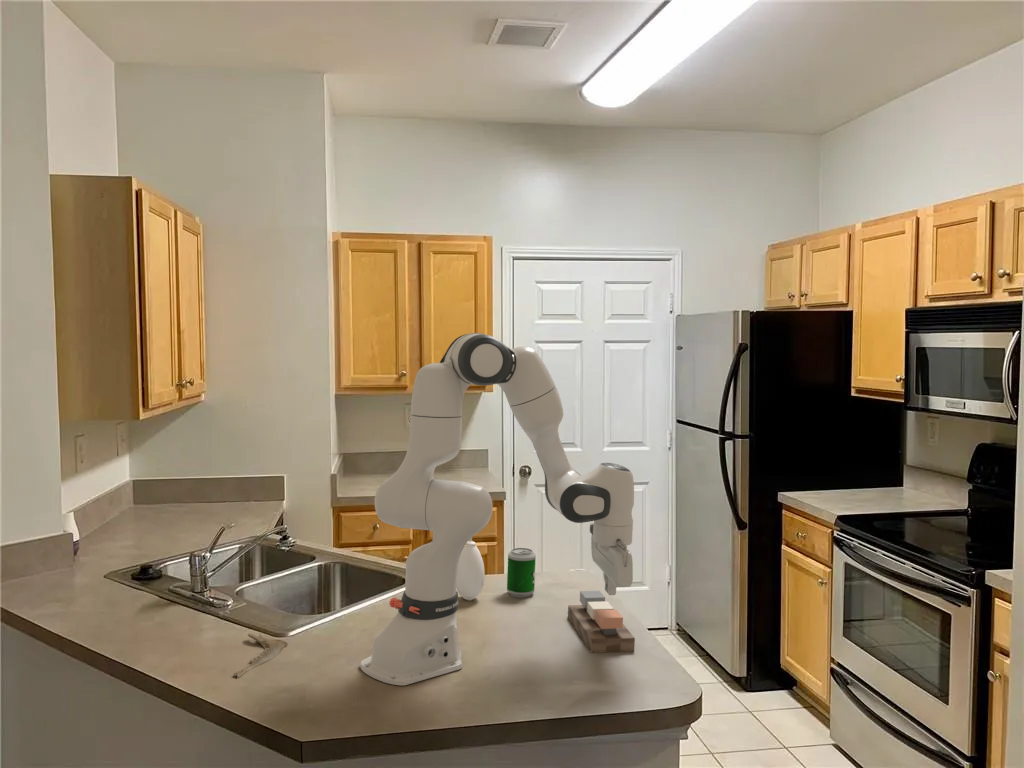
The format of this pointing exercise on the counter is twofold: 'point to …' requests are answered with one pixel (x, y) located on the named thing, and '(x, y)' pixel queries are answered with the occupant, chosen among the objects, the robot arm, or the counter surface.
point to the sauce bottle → (470, 572)
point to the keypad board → (599, 633)
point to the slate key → (590, 597)
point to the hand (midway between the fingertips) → (610, 593)
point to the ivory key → (597, 608)
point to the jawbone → (268, 654)
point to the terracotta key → (609, 621)
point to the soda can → (521, 572)
